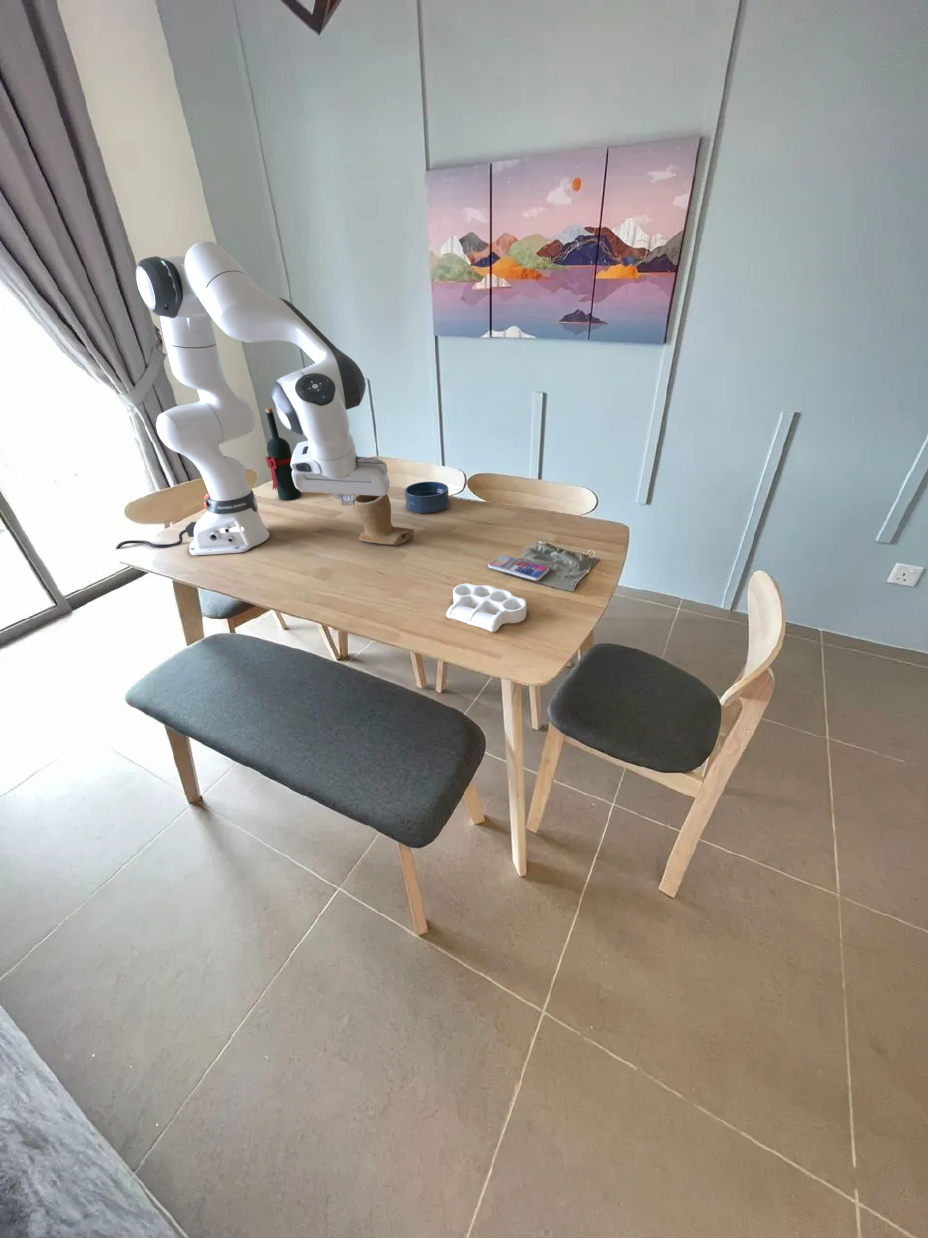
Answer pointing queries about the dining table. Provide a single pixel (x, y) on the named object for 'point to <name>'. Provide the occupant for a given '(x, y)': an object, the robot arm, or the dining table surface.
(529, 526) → the dining table surface
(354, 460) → the robot arm
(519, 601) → the knuckle duster
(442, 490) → the bowl
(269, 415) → the wine bottle
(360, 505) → the stone cup
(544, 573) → the smartphone
